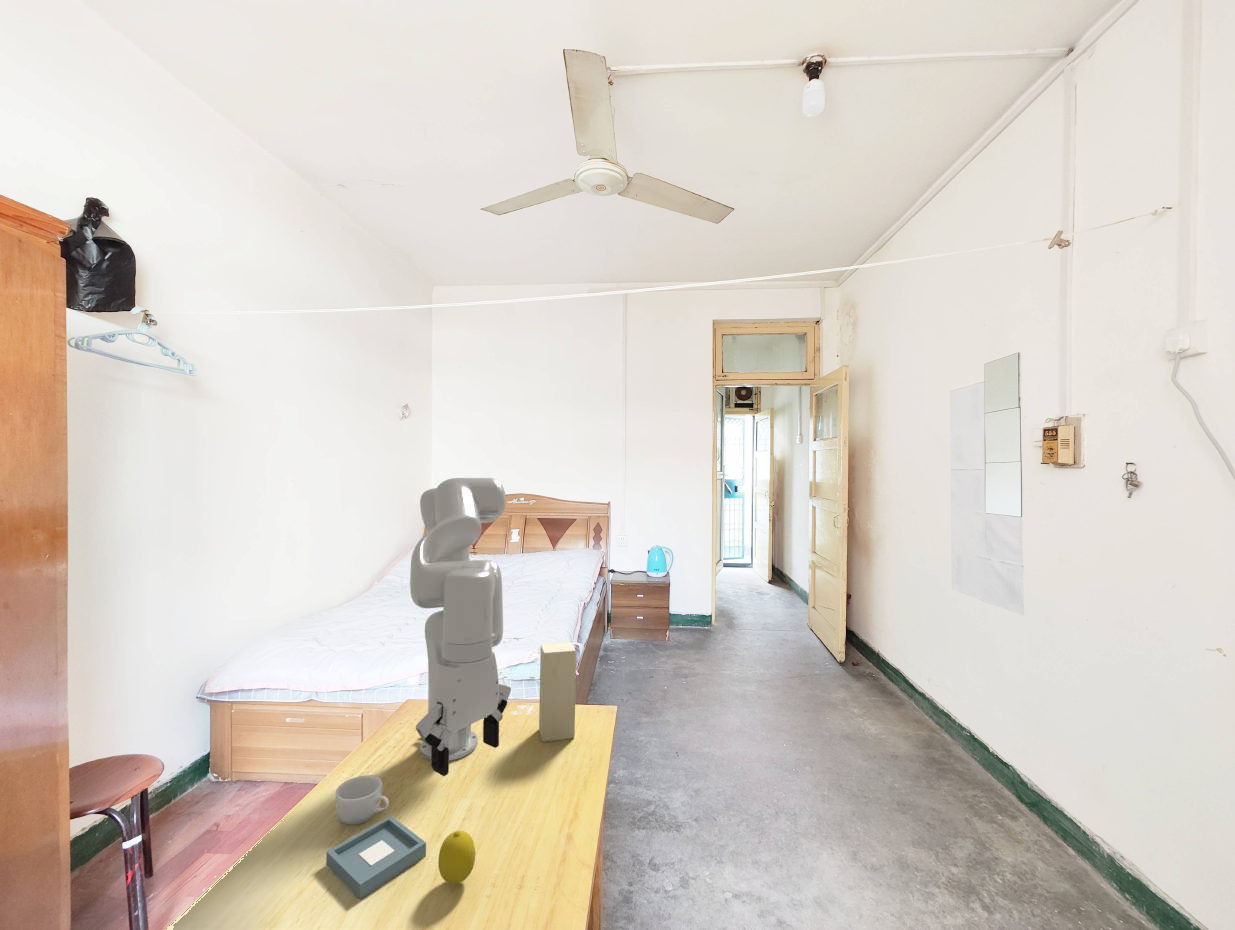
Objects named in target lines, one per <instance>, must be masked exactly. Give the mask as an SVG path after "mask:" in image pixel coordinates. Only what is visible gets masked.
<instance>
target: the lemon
mask: <svg viewBox="0 0 1235 930" xmlns="http://www.w3.org/2000/svg"><path fill="white" fill-rule="evenodd" d="M475 846H476V845H475V842H474V839H473V837H472V835H470V834H469V833H468V832H467V831H464V830H455V831H453V832H451V833H450V834H449V835H447V836H446V837H445V838H444V840H443V842H442V844H441V845H440V849H439V852H438V853H439V854H438V863H437V864H438V870H439V874H440V877H441V878H442V879H443V881H444V882H446V883H448V884H449V885H450V884H451V885H458V884H460V883H462V882H464V881H465V880H466V879H467V878H468V877H469V876H470V875H471V873H472V871H473V869H474V867H475V863H476V848H475Z"/></svg>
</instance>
